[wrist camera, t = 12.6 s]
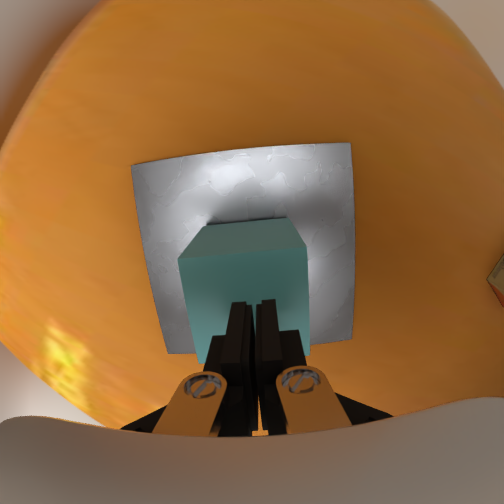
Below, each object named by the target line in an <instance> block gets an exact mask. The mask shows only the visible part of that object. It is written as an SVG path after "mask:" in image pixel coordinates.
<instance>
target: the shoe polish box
mask: <svg viewBox="0 0 504 504" xmlns="http://www.w3.org/2000/svg"><path fill="white" fill-rule="evenodd" d="M487 281H488V283H489V284H490V286H491V287H492V289H493V291H494V292H495V294H496V296H497V298H498V299H499V301H500V303H501V305H502V306H503V307H504V254H503V256H502V257H501V259H500V261H499V262H498V264H497V265H496V267H495V268H494V269H493V271H492V272H491V274H490V275H489V277H488V278H487Z"/></svg>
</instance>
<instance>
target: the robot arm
mask: <svg viewBox="0 0 504 504" xmlns="http://www.w3.org/2000/svg"><path fill="white" fill-rule="evenodd" d="M261 303H262V304H256V330H255V327H254V318H253V309H252V304H251V305H247V303H246V301H242V302H232V304H231V309H230V314H229V319H228V324H227V329H226V334H225V335H213V336H212V339H211V342H210V346H209V350H208V354H207V358H206V361H205V365H204V369H203V372H198V373H194V374H192V375H189V376H188V377H186V378H185V379H183V381H182V382H181V383H180V384H179V386H178V388H177V390H176V391H175V393H174V395H173V397H172V398H171V400H170V402H169V403H168V405H166V406H164V407H162V408H160V409H158V410H156V411H154V412H152V413H150V414H148V415H146V416H144V417H142V418H140V419H138V420H136V421H134V422H132V423H130V424H128V425H126V426H124V427H122V428H121V429H114V428H108V427H102V426H96V425H91V424H86V423H80V422H74V421H69V420H64V419H59V418H52V417H46V416H20V417H14V418H10V419H7V420H4V421H3V422H1V423H0V504H504V398H503V397H475V398H469V399H462V400H457V401H453V402H449V403H444V404H441V405H437V406H434V407H430V408H427V409H423V410H419V411H415V412H411V413H407V414H403V415H399V416H395V417H394V416H392V415H390V414H388V413H386V412H383V411H380V410H378V409H375V408H372V407H370V406H367V405H365V404H362V403H359V402H357V401H354V400H352V399H350V398H347V397H345V396H342V395H340V394H337V393H335V392H334V391H333V389H332V387H331V385H330V383H329V382H328V380H327V378H326V376H325V375H324V373H323V372H322V371H320V370H319V369H317V368H314V367H311V366H307V364H306V359H305V355H304V350H303V346H302V341H301V337H300V332H299V329H296V330H286V331H279V325H278V316H277V307H276V299H268V300H261ZM258 395H259V403H260V411H261V419H262V427H263V430H268V434H269V435H267V436H252V431H258Z"/></svg>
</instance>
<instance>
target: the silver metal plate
mask: <svg viewBox="0 0 504 504" xmlns="http://www.w3.org/2000/svg"><path fill="white" fill-rule="evenodd" d="M131 171H132V179H133V187H134V194H135V201H136V208H137V214H138V221H139V227H140V233H141V238H142V244H143V249H144V254H145V260H146V265H147V269H148V274H149V279H150V284H151V288H152V293H153V297H154V301H155V305H156V310H157V314H158V318H159V322H160V326H161V330H162V333H163V337H164V341H165V344H166V348H167V352H168V354H190V353H196V349H195V345H194V341H193V336H192V332H191V327H190V323H189V318H188V313H187V308H186V303H185V298H184V293H183V288H182V283H181V278H180V272H179V267H178V261H177V259H178V257H179V256H180V255H181V253H182V252H183V251H184V250H185V248H186V247H187V246H188V244H189V243H190V242H191V241H192V239H193V238H194V237H195V236H196V234H197V233H198V232H199V231H200V229H201V228H202V227H203V226H208V225H218V224H227V223H237V222H247V221H258V220H269V219H280V218H289V219H290V221H291V222H292V224H293V225H294V227H295V228H296V230H297V232H298V233H299V235H300V236H301V238H302V240H303V241H304V243H305V244H306V246H307V255H308V280H309V316H310V345H313V344H321V343H329V342H336V341H343V340H350V339H352V328H353V311H354V287H355V211H354V186H353V169H352V155H351V143H322V144H300V145H283V146H270V147H258V148H247V149H237V150H228V151H220V152H212V153H204V154H197V155H190V156H183V157H177V158H170V159H164V160H159V161H153V162H147V163H142V164H137V165H132V166H131Z"/></svg>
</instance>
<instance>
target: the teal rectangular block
mask: <svg viewBox="0 0 504 504" xmlns="http://www.w3.org/2000/svg"><path fill="white" fill-rule="evenodd" d="M177 261H178V267H179V272H180V278H181V283H182V288H183V293H184V298H185V303H186V308H187V313H188V318H189V323H190V327H191V332H192V336H193V341H194V345H195V349H196V354H197V358H198V362H199V364H200V363H205V361H206V358H207V354H208V350H209V346H210V342H211V339H212V336H213V335H225V334H226V329H227V324H228V319H229V314H230V309H231V304H232V302H242V301H246V303H247V305H251V304H252V309H253V318H254V327H255V330H256V304H262V303H261V300H268V299H276V307H277V316H278V325H279V331H286V330H296V329H299V332H300V337H301V341H302V346H303V350H304V355H305V356H308V355H310V316H309V280H308V255H307V246H306V244H305V243H304V241H303V240H302V238H301V236H300V235H299V233H298V232H297V230H296V228H295V227H294V225H293V224H292V222H291V221H290V219H289V218H280V219H269V220H258V221H247V222H237V223H227V224H218V225H208V226H203V227H202V228H201V229H200V231H199V232H198V233H197V234H196V236H195V237H194V238H193V239H192V241H191V242H190V243H189V244H188V246H187V247H186V248H185V250H184V251H183V252H182V253H181V255H180V256H179V257H178V259H177Z"/></svg>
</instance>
